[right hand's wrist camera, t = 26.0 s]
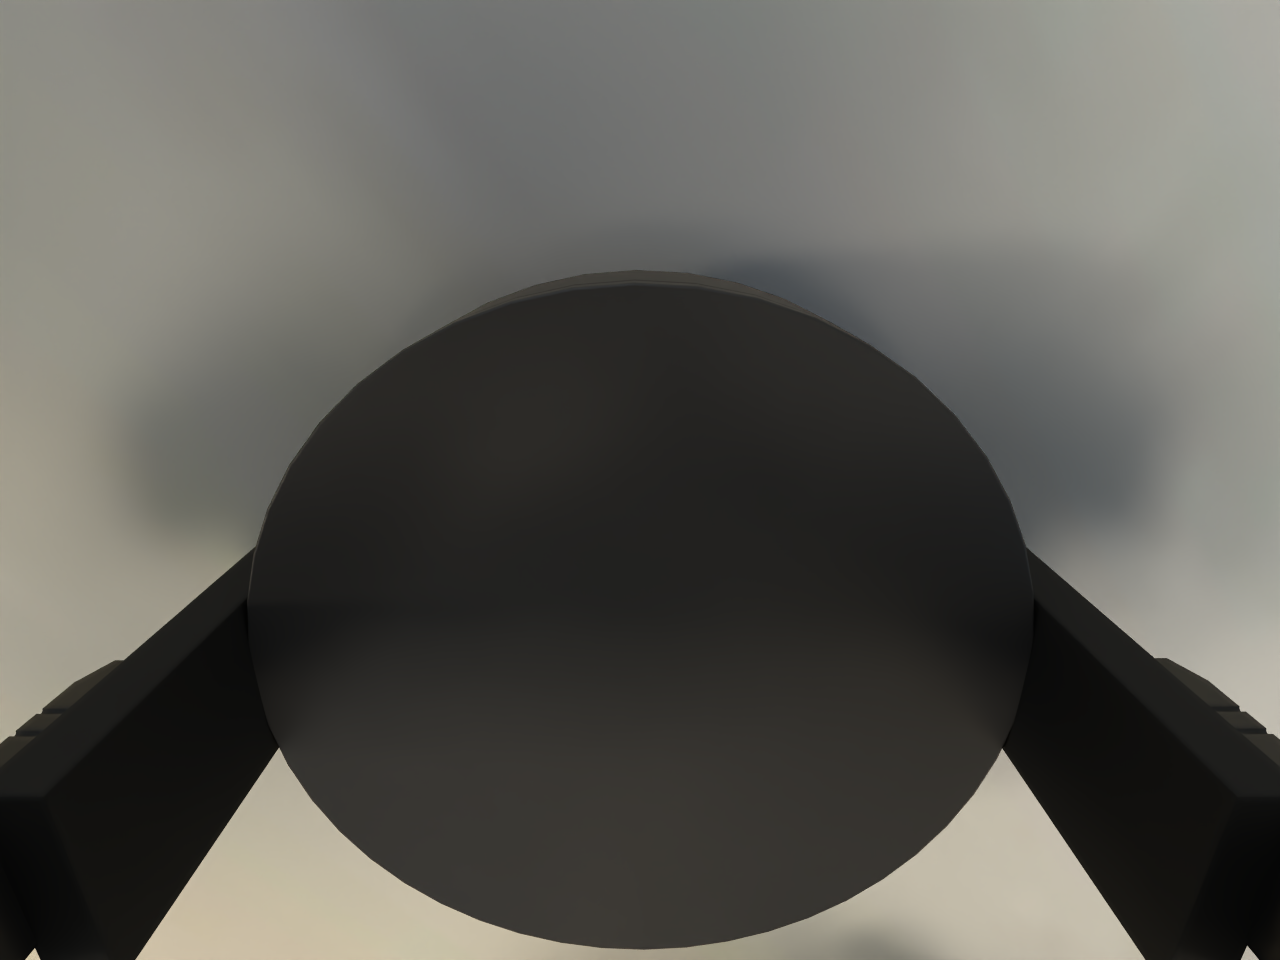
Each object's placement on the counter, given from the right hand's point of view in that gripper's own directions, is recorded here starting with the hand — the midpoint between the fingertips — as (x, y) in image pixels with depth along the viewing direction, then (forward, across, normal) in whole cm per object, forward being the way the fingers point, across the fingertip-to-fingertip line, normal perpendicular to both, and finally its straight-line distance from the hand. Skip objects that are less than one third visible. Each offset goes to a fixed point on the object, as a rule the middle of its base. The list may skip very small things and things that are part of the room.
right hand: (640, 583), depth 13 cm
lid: (-3, 0, 0) cm, 3 cm away
